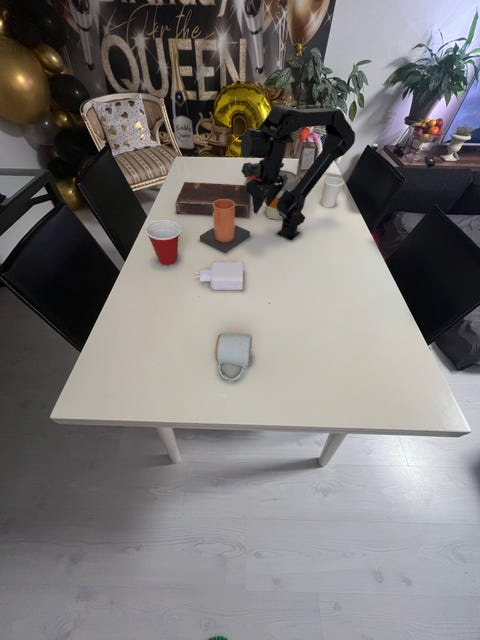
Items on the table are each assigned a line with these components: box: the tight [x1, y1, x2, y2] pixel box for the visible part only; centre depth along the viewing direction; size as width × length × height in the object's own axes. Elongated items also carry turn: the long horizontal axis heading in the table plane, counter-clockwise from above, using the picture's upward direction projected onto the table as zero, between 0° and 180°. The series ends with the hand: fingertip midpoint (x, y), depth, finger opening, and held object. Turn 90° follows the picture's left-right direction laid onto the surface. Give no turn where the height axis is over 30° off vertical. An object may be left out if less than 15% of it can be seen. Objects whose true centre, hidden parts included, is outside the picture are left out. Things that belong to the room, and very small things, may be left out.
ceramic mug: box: [214, 332, 253, 382], centre depth 69 cm, size 11×8×8 cm
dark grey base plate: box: [199, 224, 251, 254], centre depth 108 cm, size 14×12×4 cm
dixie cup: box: [321, 176, 345, 208], centre depth 126 cm, size 8×8×10 cm
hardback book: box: [175, 181, 252, 219], centre depth 124 cm, size 29×19×5 cm, turn 86°
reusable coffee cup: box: [264, 169, 298, 220], centre depth 117 cm, size 13×13×15 cm
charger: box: [193, 260, 244, 291], centre depth 91 cm, size 5×9×15 cm
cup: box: [212, 199, 236, 242], centre depth 102 cm, size 7×7×12 cm
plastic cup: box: [144, 219, 182, 266], centre depth 95 cm, size 11×11×12 cm
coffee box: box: [295, 141, 319, 184], centre depth 139 cm, size 9×6×16 cm
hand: (261, 209), depth 98 cm, fingers open, 9 cm apart
